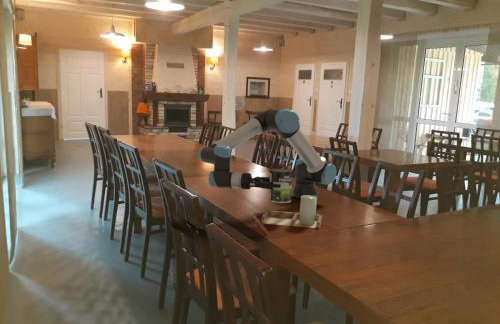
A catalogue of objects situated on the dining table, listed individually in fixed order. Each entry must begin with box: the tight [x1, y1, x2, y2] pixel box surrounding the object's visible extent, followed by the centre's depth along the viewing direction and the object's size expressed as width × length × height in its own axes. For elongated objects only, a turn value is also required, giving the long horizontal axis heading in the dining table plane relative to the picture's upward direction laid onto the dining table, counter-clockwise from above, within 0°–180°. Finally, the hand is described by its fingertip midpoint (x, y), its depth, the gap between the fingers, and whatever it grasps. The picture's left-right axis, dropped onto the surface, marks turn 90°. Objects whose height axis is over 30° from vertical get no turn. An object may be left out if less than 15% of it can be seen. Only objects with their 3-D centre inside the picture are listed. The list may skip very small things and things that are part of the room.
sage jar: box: [299, 195, 318, 226], centre depth 177 cm, size 7×7×12 cm
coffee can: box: [268, 168, 293, 204], centre depth 178 cm, size 10×10×14 cm
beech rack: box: [260, 210, 323, 229], centre depth 180 cm, size 26×13×4 cm, turn 76°
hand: (290, 184), depth 177 cm, fingers closed on coffee can, 10 cm apart
